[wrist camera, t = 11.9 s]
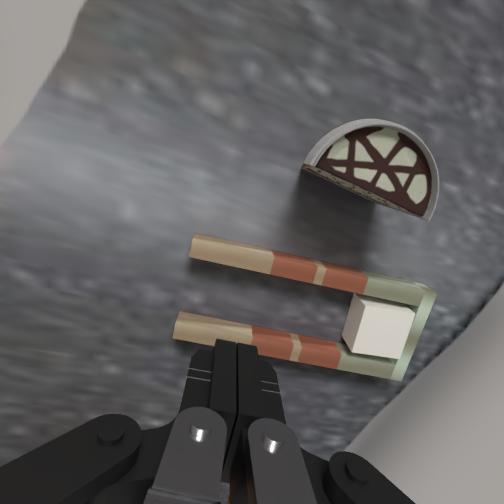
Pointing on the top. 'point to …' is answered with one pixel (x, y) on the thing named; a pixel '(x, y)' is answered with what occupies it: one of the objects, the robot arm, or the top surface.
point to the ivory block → (377, 326)
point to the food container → (379, 165)
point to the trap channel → (299, 345)
